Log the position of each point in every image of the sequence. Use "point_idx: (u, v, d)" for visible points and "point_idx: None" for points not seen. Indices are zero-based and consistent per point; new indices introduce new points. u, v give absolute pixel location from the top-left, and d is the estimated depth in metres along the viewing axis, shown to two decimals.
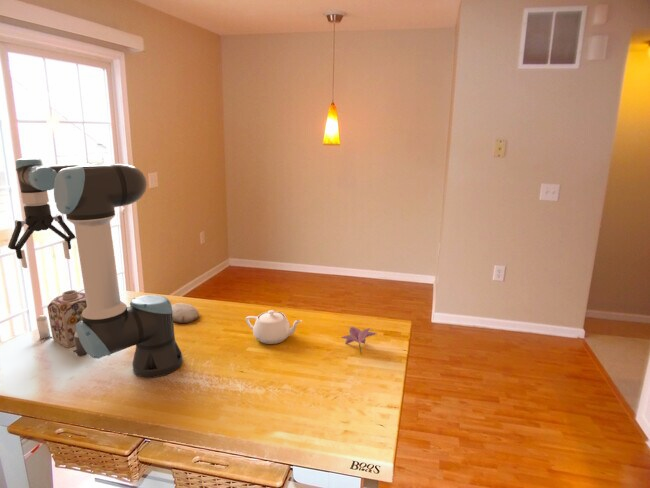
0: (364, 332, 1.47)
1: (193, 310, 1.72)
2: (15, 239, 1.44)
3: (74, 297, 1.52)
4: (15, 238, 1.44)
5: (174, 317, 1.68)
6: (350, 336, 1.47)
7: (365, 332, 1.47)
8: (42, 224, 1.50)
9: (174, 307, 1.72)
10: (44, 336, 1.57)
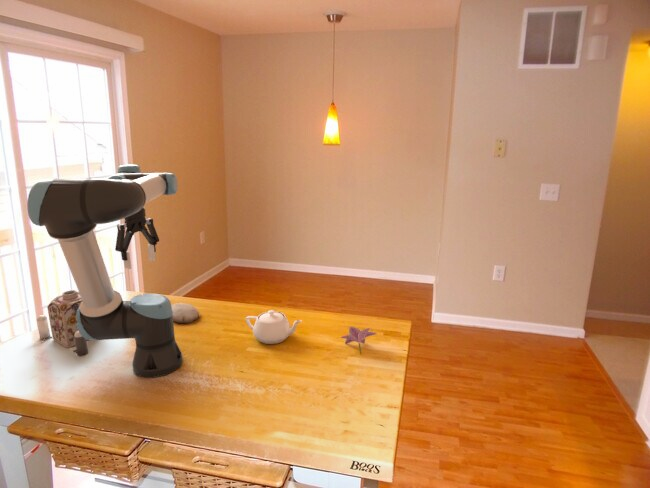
0: (364, 332, 1.47)
1: (193, 310, 1.72)
2: (122, 242, 1.55)
3: (74, 297, 1.52)
4: (121, 241, 1.55)
5: (174, 317, 1.68)
6: (350, 336, 1.48)
7: (365, 332, 1.47)
8: (138, 226, 1.61)
9: (174, 307, 1.72)
10: (44, 336, 1.57)
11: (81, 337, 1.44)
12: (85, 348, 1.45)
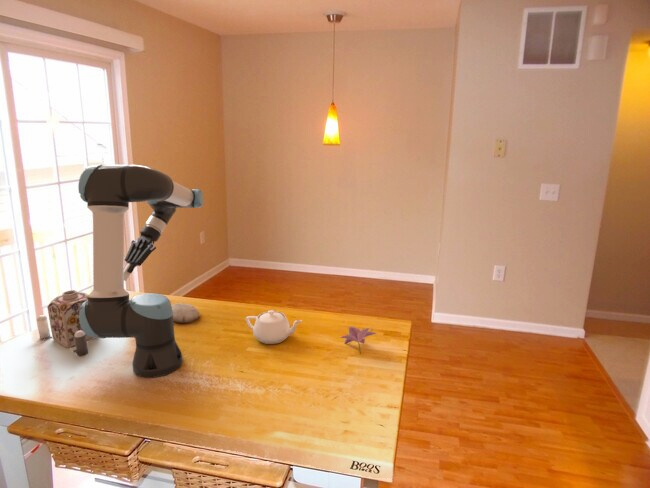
0: (363, 332, 1.47)
1: (194, 310, 1.72)
2: (128, 253, 1.75)
3: (74, 297, 1.52)
4: (128, 252, 1.75)
5: (175, 317, 1.68)
6: (349, 336, 1.48)
7: (364, 332, 1.47)
8: None
9: (175, 307, 1.71)
10: (44, 336, 1.57)
11: (81, 337, 1.44)
12: (85, 348, 1.45)
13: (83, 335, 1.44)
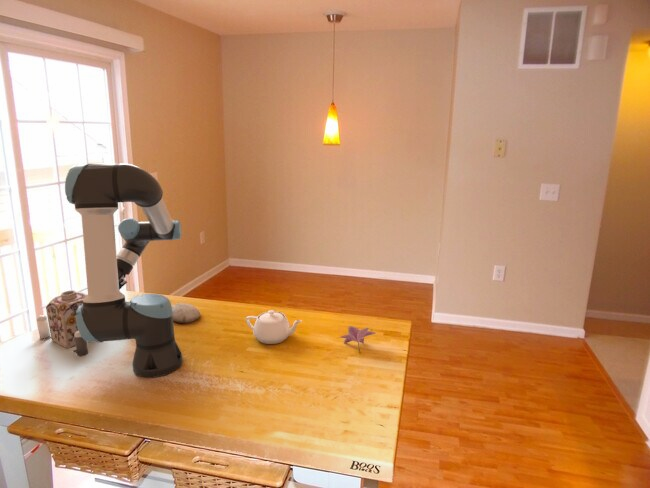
0: (363, 332, 1.47)
1: (194, 310, 1.72)
2: None
3: (73, 297, 1.52)
4: None
5: (175, 317, 1.68)
6: (349, 335, 1.48)
7: (364, 331, 1.47)
8: None
9: (175, 307, 1.71)
10: (44, 336, 1.57)
11: (81, 337, 1.44)
12: (85, 348, 1.45)
13: None
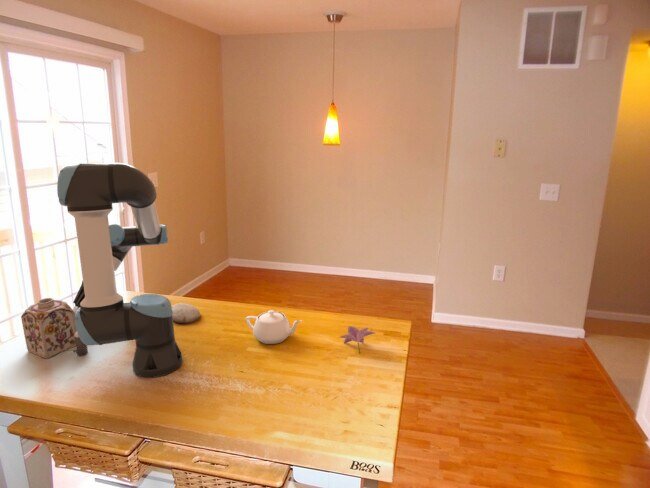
0: (363, 332, 1.47)
1: (194, 310, 1.72)
2: (78, 294, 1.60)
3: (51, 305, 1.45)
4: (78, 293, 1.60)
5: (175, 317, 1.68)
6: (349, 335, 1.48)
7: (363, 331, 1.47)
8: None
9: (175, 307, 1.71)
10: None
11: None
12: (85, 348, 1.45)
13: None
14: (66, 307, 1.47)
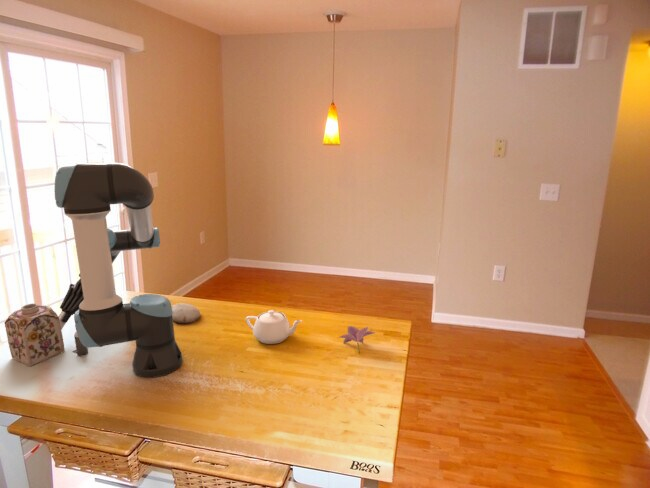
0: (362, 331, 1.47)
1: (194, 310, 1.72)
2: (65, 299, 1.55)
3: (35, 311, 1.40)
4: (65, 298, 1.56)
5: (175, 317, 1.68)
6: (348, 335, 1.48)
7: (363, 331, 1.47)
8: None
9: (175, 307, 1.71)
10: None
11: None
12: (85, 348, 1.45)
13: None
14: (51, 313, 1.42)
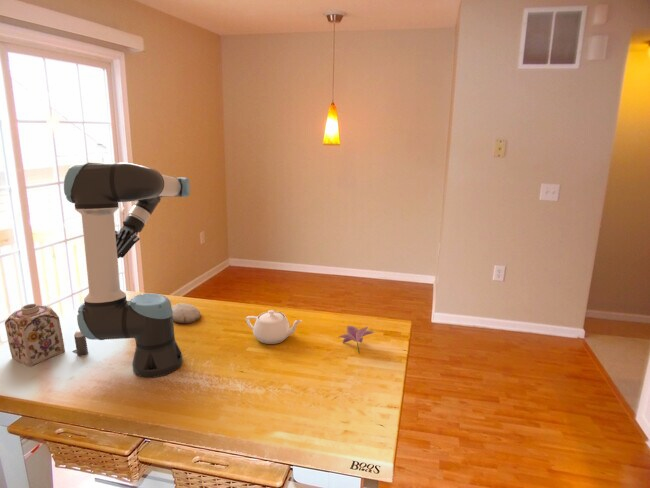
0: (362, 331, 1.48)
1: (195, 310, 1.72)
2: None
3: (35, 311, 1.40)
4: None
5: (176, 317, 1.68)
6: (348, 335, 1.48)
7: (363, 331, 1.48)
8: None
9: (176, 307, 1.71)
10: None
11: (81, 337, 1.44)
12: (85, 348, 1.45)
13: None
14: (51, 313, 1.42)
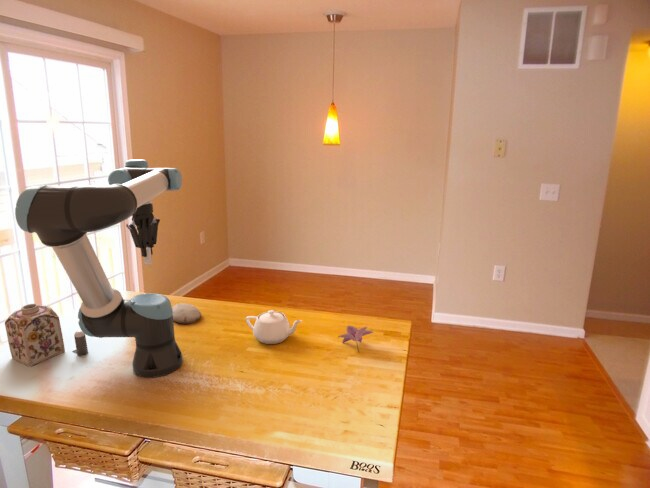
0: (361, 331, 1.48)
1: (195, 310, 1.72)
2: (138, 239, 1.56)
3: (35, 311, 1.40)
4: (138, 238, 1.56)
5: (176, 317, 1.68)
6: (347, 335, 1.48)
7: (362, 331, 1.48)
8: (146, 222, 1.58)
9: (176, 307, 1.71)
10: None
11: (81, 337, 1.44)
12: (85, 348, 1.45)
13: (83, 335, 1.44)
14: (51, 313, 1.42)
